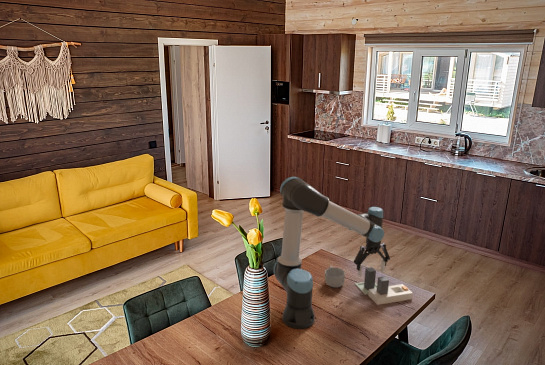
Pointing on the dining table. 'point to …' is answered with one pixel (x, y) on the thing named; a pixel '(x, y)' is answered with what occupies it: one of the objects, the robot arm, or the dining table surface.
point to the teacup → (334, 276)
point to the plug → (369, 278)
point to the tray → (362, 288)
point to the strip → (389, 292)
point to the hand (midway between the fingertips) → (370, 273)
